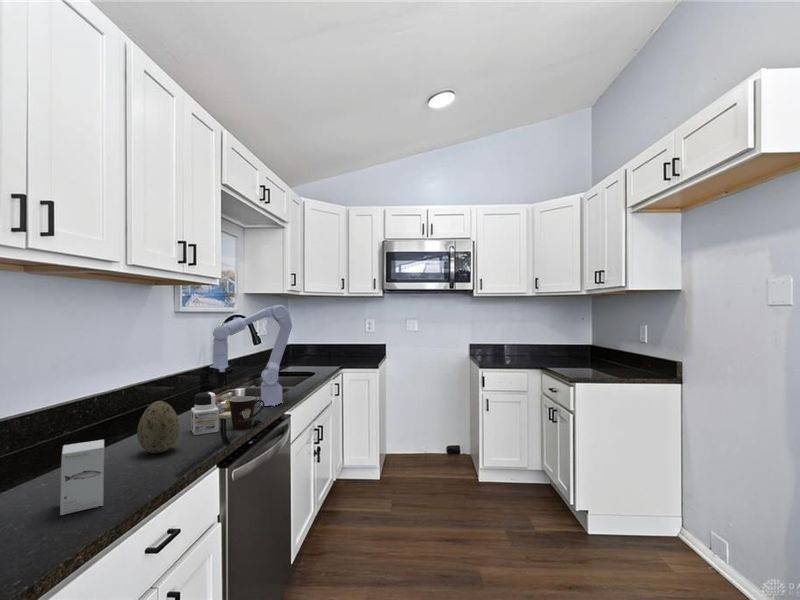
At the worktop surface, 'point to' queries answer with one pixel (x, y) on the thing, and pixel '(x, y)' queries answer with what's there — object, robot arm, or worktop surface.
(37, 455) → the worktop surface
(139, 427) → the decorative egg
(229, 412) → the mounting board
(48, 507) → the worktop surface
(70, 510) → the supplement box
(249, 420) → the coffee mug
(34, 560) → the worktop surface
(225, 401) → the valve pipe
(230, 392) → the valve lever
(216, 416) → the container
